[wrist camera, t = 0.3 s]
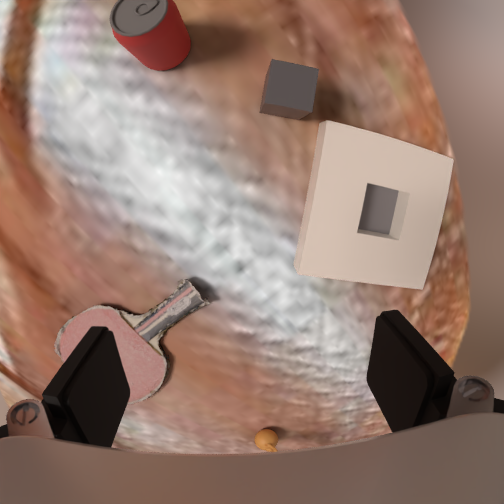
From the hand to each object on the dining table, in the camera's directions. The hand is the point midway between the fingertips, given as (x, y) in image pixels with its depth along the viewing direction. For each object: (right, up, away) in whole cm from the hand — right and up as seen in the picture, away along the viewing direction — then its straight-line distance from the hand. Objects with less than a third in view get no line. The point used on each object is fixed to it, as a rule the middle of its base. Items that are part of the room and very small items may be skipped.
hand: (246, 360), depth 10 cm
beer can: (-10, +29, +22) cm, 37 cm away
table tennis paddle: (-19, -10, +34) cm, 40 cm away
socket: (+16, +9, +28) cm, 34 cm away
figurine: (+4, -28, +39) cm, 48 cm away
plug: (+4, +22, +24) cm, 33 cm away
